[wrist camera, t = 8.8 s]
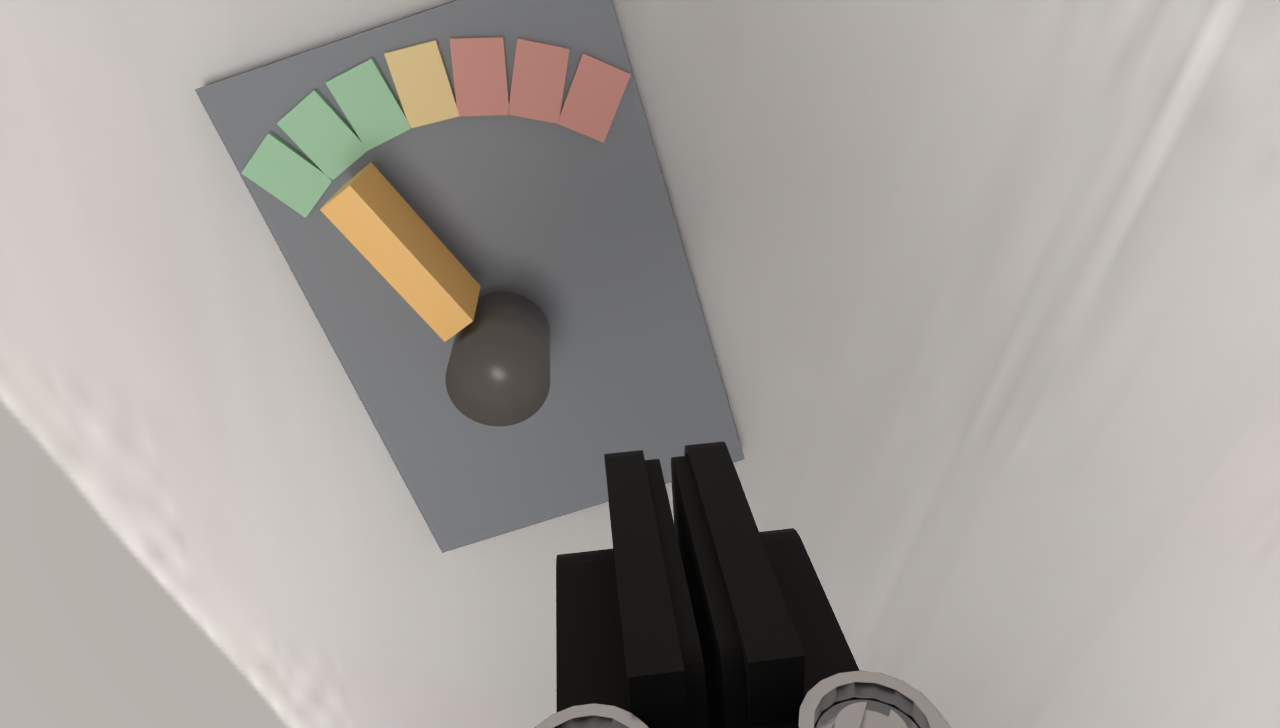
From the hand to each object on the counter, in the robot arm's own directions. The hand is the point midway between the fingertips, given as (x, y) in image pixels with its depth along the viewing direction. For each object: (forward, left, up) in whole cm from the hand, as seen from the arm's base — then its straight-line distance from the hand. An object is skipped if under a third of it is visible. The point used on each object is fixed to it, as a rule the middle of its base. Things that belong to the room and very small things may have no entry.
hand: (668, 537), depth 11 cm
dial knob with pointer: (+4, +4, -19) cm, 20 cm away
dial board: (+2, +5, -20) cm, 21 cm away
